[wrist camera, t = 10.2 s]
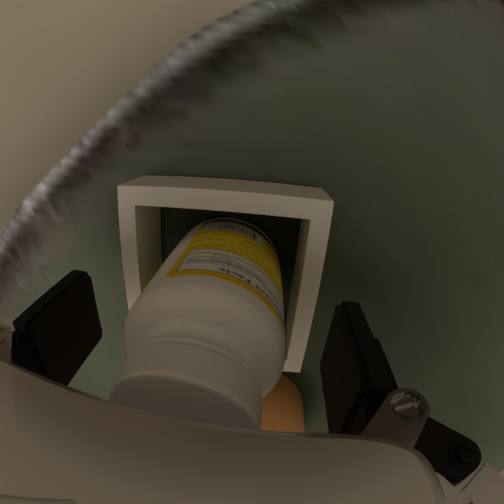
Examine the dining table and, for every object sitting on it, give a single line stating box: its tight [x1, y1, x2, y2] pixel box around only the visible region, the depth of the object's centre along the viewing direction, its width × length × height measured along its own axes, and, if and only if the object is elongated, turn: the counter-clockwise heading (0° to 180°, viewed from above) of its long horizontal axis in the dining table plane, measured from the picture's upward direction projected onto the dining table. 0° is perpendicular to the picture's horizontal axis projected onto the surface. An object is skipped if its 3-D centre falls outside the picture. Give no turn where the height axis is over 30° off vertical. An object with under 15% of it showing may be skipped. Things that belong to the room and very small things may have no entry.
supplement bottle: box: [110, 217, 286, 430], centre depth 11 cm, size 5×5×10 cm
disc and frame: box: [118, 175, 334, 433], centre depth 15 cm, size 12×22×7 cm, turn 176°
